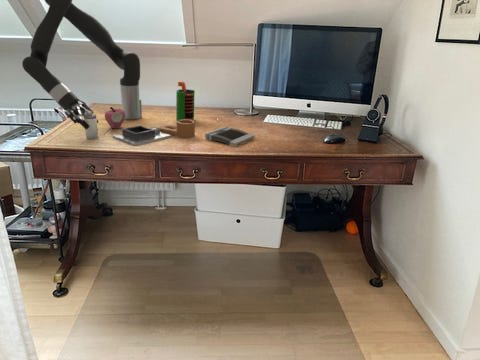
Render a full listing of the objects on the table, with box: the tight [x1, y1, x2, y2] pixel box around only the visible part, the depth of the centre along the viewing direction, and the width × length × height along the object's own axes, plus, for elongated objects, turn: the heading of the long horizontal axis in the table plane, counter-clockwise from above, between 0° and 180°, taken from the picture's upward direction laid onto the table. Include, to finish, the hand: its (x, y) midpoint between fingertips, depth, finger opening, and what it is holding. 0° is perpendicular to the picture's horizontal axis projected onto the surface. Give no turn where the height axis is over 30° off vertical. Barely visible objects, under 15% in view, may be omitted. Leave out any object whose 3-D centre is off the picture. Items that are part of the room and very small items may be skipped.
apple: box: [104, 106, 126, 129], centre depth 185 cm, size 10×9×10 cm
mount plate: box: [112, 125, 173, 147], centre depth 174 cm, size 20×16×4 cm
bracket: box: [159, 119, 196, 139], centre depth 181 cm, size 18×8×7 cm, turn 63°
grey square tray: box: [204, 125, 255, 147], centre depth 179 cm, size 17×5×16 cm
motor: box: [175, 81, 195, 122], centre depth 202 cm, size 10×9×20 cm
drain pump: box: [83, 110, 99, 140], centre depth 168 cm, size 5×5×12 cm
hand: (92, 125), depth 168 cm, fingers open, 8 cm apart
